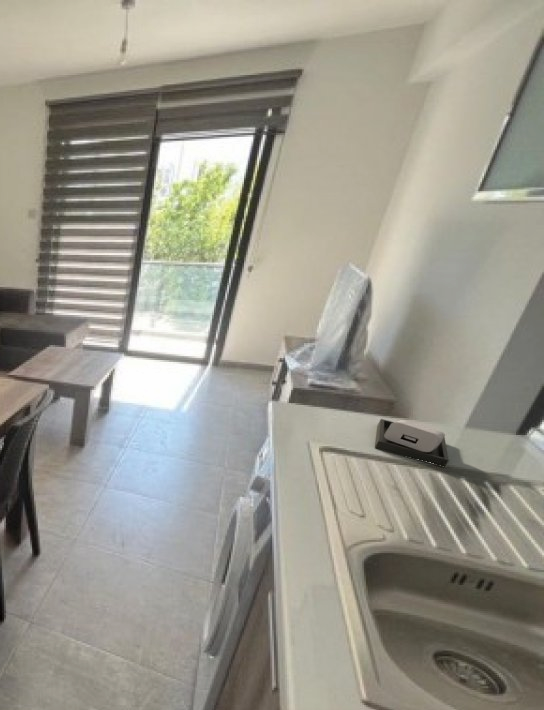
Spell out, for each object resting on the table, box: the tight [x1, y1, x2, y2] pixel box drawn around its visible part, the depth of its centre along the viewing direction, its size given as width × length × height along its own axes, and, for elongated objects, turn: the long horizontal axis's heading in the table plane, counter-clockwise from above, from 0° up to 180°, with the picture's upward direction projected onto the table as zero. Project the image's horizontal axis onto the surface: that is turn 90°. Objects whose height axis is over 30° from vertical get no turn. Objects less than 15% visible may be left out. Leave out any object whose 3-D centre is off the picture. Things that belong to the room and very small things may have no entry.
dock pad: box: [374, 418, 450, 468], centre depth 122 cm, size 13×19×2 cm
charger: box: [384, 419, 446, 452], centre depth 121 cm, size 5×9×15 cm
